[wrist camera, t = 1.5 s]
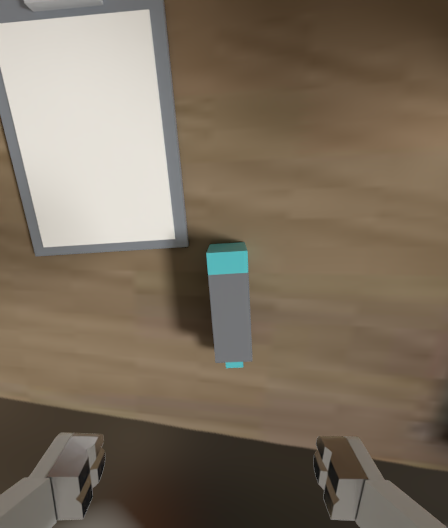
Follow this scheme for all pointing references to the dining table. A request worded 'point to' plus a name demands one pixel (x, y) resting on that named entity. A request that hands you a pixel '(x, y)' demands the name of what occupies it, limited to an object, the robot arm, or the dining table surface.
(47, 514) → the robot arm
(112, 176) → the clipboard
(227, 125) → the dining table surface
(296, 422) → the dining table surface
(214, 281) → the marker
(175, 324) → the dining table surface
